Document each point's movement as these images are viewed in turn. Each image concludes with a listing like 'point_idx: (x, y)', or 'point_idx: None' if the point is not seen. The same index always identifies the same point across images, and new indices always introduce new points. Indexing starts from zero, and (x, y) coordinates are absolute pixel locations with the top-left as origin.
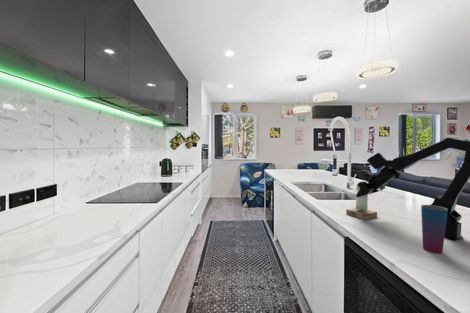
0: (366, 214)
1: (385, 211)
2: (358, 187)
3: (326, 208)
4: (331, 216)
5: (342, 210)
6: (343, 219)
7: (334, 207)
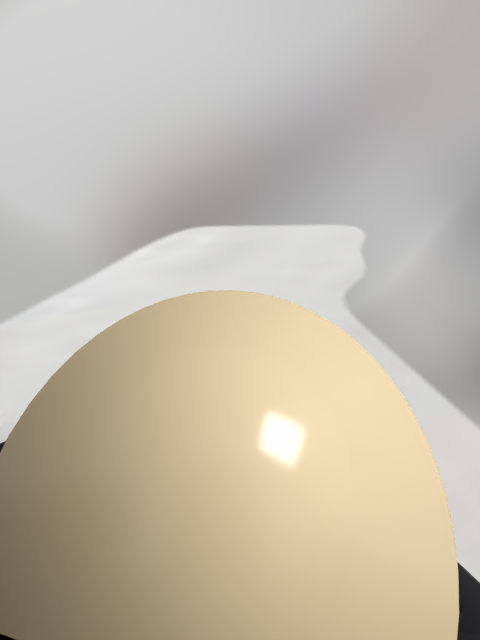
0: None
1: (464, 565)
2: (70, 393)
3: (224, 239)
4: (62, 294)
5: None
6: (24, 367)
7: (277, 264)
